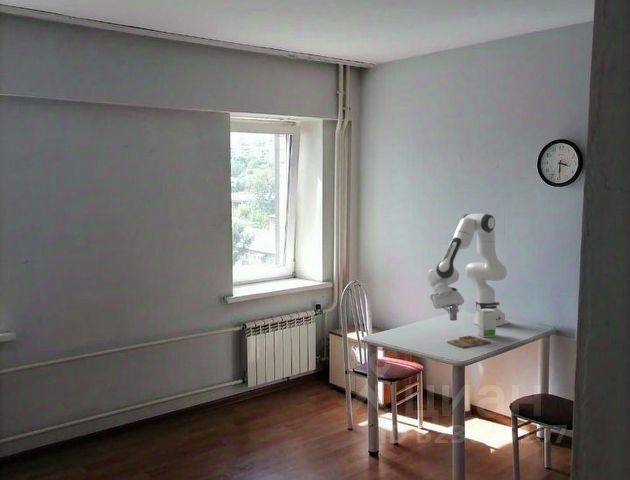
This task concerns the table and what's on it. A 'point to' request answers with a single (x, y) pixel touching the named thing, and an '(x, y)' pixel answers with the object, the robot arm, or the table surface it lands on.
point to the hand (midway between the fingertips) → (454, 312)
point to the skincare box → (487, 323)
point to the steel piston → (453, 313)
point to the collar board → (468, 342)
